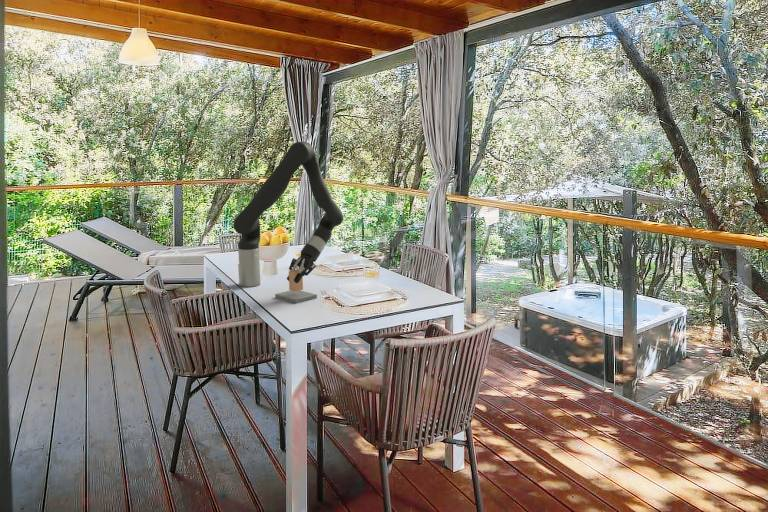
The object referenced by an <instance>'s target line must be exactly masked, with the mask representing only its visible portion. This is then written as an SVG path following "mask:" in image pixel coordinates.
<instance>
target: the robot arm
mask: <svg viewBox="0 0 768 512" xmlns="http://www.w3.org/2000/svg"><path fill="white" fill-rule="evenodd" d="M301 166H302V167H303V168H304V170H305V173H306V175H307V177H308V182H309V187H310V190H311V193H312V196H313V199H314V201H315V203H316V205H317V206H318V208H319V209H322V210H323V211H324V212H325V214H324V215H323V216H322V218H321V219H320V221H319V223H318V226H317V228H316V229H315V231H314V232H313V234H312V235H311V236H310V237H309V239H308V240H307V242H306V243H305V245H303V248H302V249H301V251H300V256H299V257H298V258H294V257H293V258H292V260H291V262H290V265H289V267H288V271H292V270H300V271H299V273H298V274H297V276H296V277H295V279H294V282H295V283H298V282H299V281H300V279H301V278H303V277H305V276H309V274H310V273H312V271H313V270H315V268H316V267H317V265H316V264H315V263H316V261H317V260H318V259H319V257H320V255H321V254H322V252H323V251H324V249H325V247H326V245H327V244H328V242H329V240H330V239H331V238H332V232H333V230H334V228H335V227H338V226H340V225H341V224H342V223H343V221H344V215H343V212H342V211H341V209H340V207H339V206H338V205H337V203H336V202H335V201H334V199H333V197H332V195H331V193H330V190H329V188H328V187H327V184H326V182H325V179H324V176H323V174H322V172H321V169H320V166H319V163H318V161H317V156H316V152H315V150H314V147H313V145H312V144H311V143H310V142H307V141H296V142H294V143H293V144H292V145H290V147H289V148H288V150H287V151H286V153H285V155H284V156H283V158H282V160H281V161H280V162H279V164H278V165H277V167H276V168H275V169H274V170H273V172H272V173H271V174H270V175H269V176H268V178H267V179H265V181H264V182H263V183H262V185H261V186H260V188H259V189H258V191H257V192H256V193H255V195H254V196H253V197H252V199H251V200H250V202H249V203H248V204H247V205H246V206H245V207H244V209H243V210H242V211H241V212H240V213H238V215H237V216H236V217H235V218H234V221H233V229H234V231H235V233H237V234H239V235H241V237H240V239H239V241H238V242H237V249H238V251H237V252H238V264H237V265H238V283H239V285H240V286H241V287H247V288H248V287H256V286H260V285H261V264H260V248H259V247H260V246H259V245H260V240H261V222H260V217H261V215H262V214H263V213H265V212H266V211H267V210H268V209H270V208H271V207H272V206H273V205H275V203H277V201H278V200H279V199H280V198H281V197H282V195H283V194H284V193H285V191H286V189H287V188H288V187H289V184H290V181H291V179H292V177H293V175H294V174H295V173H296V171H298V169H299V168H300V167H301ZM286 280H287V281H288V282H289V274H288V275H287V277H286Z"/></svg>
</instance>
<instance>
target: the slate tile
mask: <svg viewBox="0 0 768 512" xmlns="http://www.w3.org/2000/svg"><path fill="white" fill-rule="evenodd" d="M274 295H275V296H274V298H276V299H279V300H283V301H286V302H290V303H293V304H300V303H303V302H307V301H311V300H315V299H317V298H318V294H315V293H312V292H308V291H304V290H299V291H292V290H287V291H283V292H277V293H275V294H274Z"/></svg>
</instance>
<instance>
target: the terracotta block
mask: <svg viewBox="0 0 768 512" xmlns="http://www.w3.org/2000/svg"><path fill="white" fill-rule="evenodd" d="M299 271H300V270H296V269H295V270H292V271H290V270H288V275H289V281H288V289H289V290H288V291H290V290H292V291H299V290H301V291H304V290H303V289H304V286H303V277H302V278H301V279H300V281H299V282H298V283H295V282H294V279H295V277H296V276H297V274H298V273H299Z"/></svg>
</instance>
